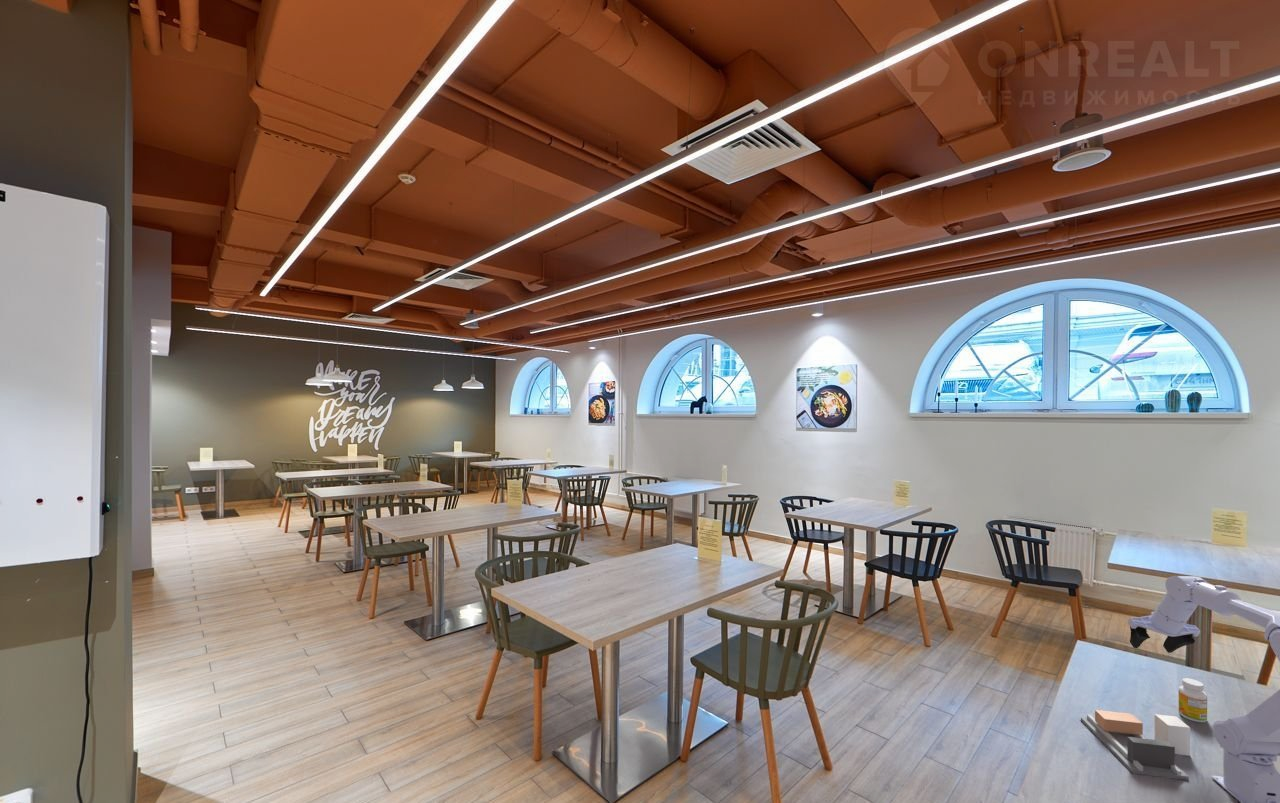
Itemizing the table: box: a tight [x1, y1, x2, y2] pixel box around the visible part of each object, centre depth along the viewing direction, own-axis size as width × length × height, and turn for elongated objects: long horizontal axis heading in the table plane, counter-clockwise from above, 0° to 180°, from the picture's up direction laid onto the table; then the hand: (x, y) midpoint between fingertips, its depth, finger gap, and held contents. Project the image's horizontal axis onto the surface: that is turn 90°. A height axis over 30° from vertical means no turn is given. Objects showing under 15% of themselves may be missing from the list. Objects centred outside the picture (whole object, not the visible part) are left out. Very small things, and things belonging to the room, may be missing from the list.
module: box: [1154, 713, 1191, 757], centre depth 130 cm, size 4×4×7 cm
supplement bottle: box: [1178, 677, 1208, 723], centre depth 142 cm, size 5×5×10 cm
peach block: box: [1094, 709, 1144, 736], centre depth 135 cm, size 4×8×3 cm, turn 77°
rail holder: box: [1080, 714, 1190, 781], centre depth 131 cm, size 20×11×6 cm, turn 167°
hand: (1149, 647), depth 139 cm, fingers open, 7 cm apart
